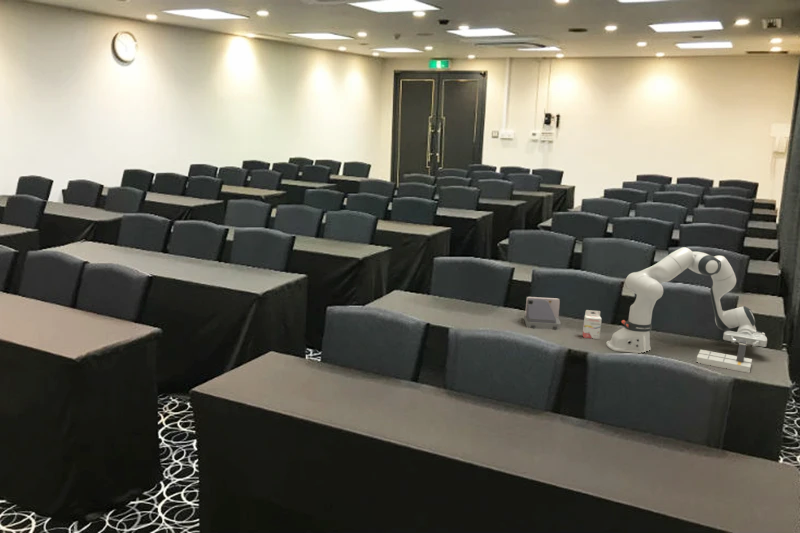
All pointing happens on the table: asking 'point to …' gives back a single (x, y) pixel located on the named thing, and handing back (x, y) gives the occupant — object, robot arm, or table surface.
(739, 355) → the fader knob
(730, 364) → the fader console
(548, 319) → the tablet on stand
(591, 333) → the ink cartridge box
